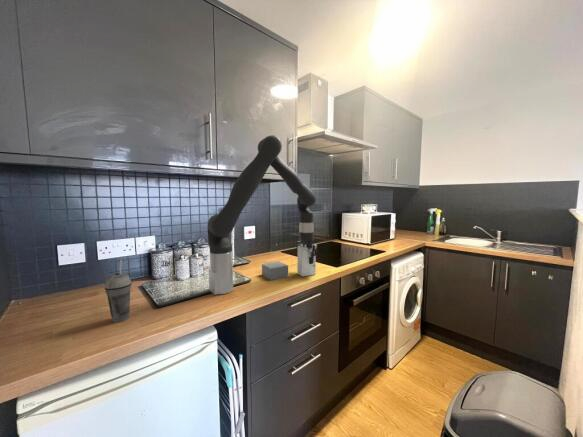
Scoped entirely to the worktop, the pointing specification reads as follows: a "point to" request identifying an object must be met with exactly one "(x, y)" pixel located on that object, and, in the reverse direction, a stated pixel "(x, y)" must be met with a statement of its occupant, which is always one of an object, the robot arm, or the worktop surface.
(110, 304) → the beverage cup
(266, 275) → the charcoal block
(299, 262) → the skincare box
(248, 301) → the worktop surface
